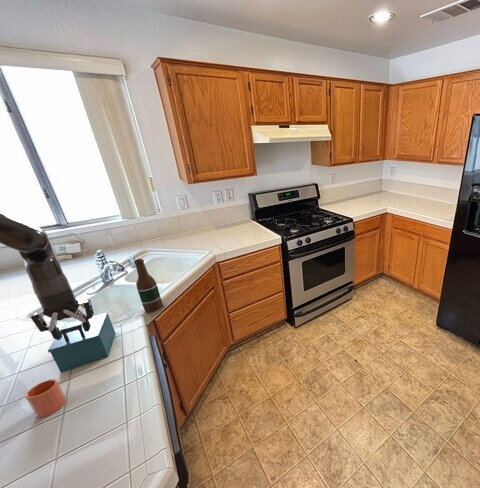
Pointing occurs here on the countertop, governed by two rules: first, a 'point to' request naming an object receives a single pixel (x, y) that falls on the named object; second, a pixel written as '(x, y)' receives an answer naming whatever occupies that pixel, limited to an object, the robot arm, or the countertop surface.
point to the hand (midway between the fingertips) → (73, 334)
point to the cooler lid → (79, 332)
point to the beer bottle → (147, 288)
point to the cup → (46, 398)
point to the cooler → (86, 350)
